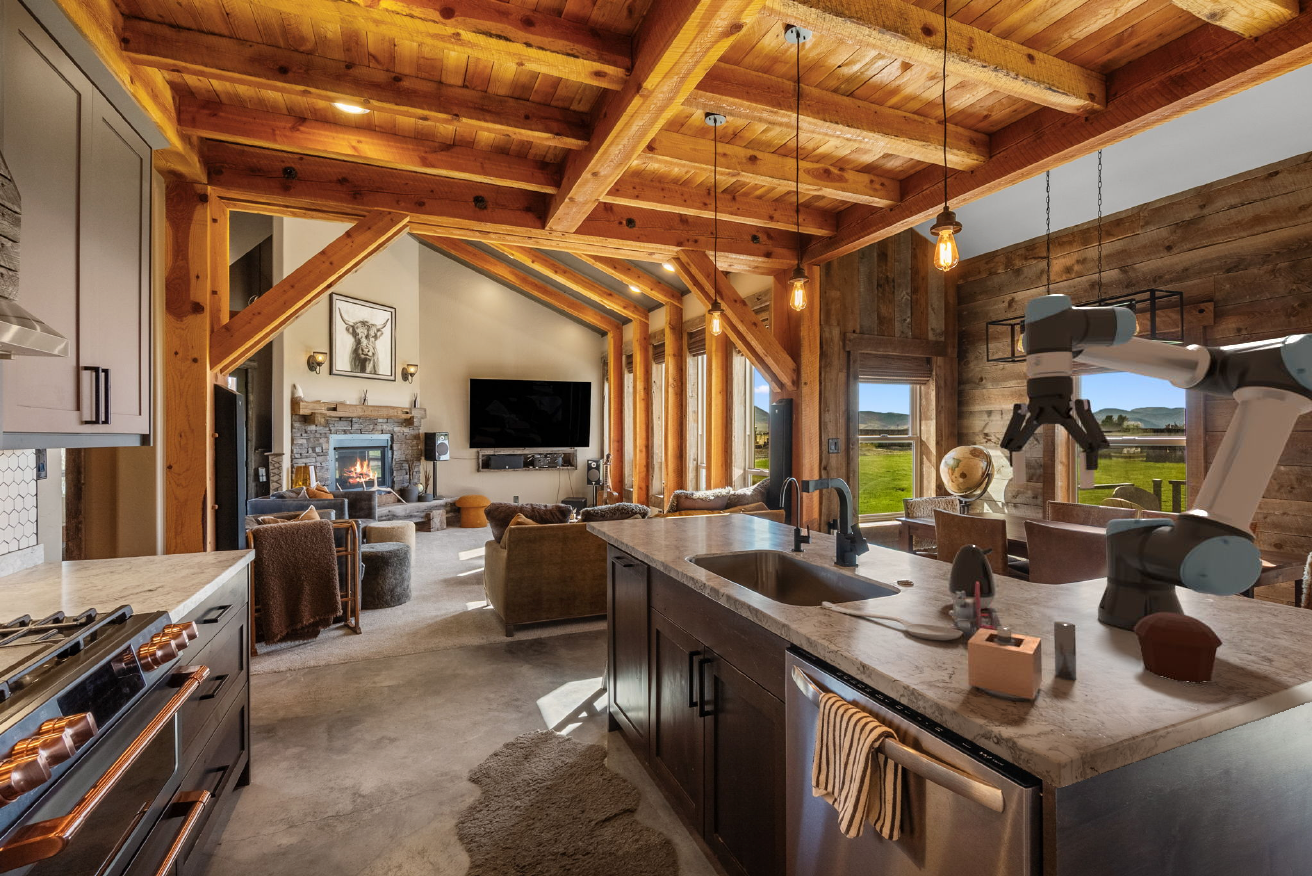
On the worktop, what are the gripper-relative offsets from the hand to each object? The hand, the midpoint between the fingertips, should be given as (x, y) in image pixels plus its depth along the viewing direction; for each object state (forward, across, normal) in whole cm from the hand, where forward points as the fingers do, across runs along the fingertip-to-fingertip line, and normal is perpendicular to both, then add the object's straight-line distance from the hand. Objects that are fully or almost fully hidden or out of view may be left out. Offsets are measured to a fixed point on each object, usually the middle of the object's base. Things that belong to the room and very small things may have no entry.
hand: (1051, 485), depth 115 cm
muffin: (+32, +16, +8) cm, 37 cm away
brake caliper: (+32, -13, -6) cm, 35 cm away
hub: (+32, +10, -25) cm, 42 cm away
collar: (+31, +10, -25) cm, 41 cm away
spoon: (+32, -26, -19) cm, 45 cm away
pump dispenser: (+32, -28, +10) cm, 44 cm away
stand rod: (+32, +10, -11) cm, 35 cm away
